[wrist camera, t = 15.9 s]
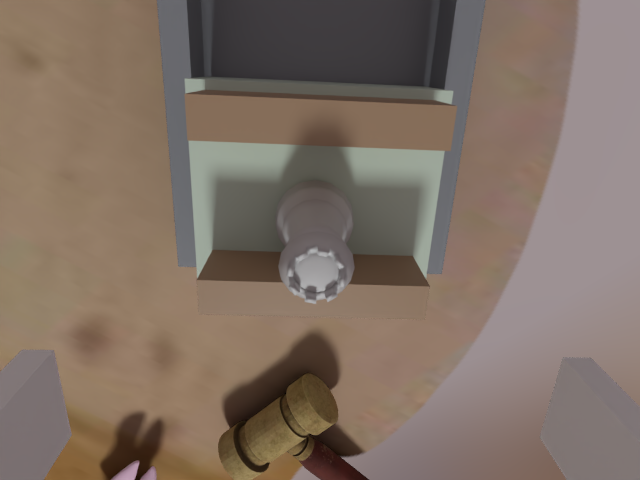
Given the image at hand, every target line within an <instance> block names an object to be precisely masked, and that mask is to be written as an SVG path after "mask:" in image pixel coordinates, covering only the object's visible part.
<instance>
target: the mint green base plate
mask: <svg viewBox="0 0 640 480" xmlns="http://www.w3.org/2000/svg"><path fill="white" fill-rule="evenodd" d="M185 93H186V94H185V110H186V125H187V141H189V156H190V172H191V187H192V203H193V219H194V234H195V250H196V266H197V295H198V311H199V314H206V315H246V316H286V317H326V318H367V319H407V320H425V317H426V310H427V303H428V297H429V290H430V286H429V284H428V282H427V280H426V275H427V268H428V261H429V255H430V248H431V241H432V234H433V227H434V220H435V214H436V207H437V200H438V193H439V186H440V180H441V173H442V166H443V159H444V152H445V151H451V145H452V138H453V132H454V125H455V119H456V112H457V106H456V105H452V98H453V91H451V90H444V89H438V88H431V87H424V86H402V85H381V84H359V83H337V82H316V81H294V80H273V79H251V78H229V77H197V78H185ZM313 180H318V181H322V182H327V183H331V184H332V185H334V186H335V187H337V188H338V189H340V190H341V191H342V192H344V194H345V195H346V197H347V199H348V200H349V202H350V203H351V205H352V212H353V219H354V220H353V222H354V226H353V229H352V233H351V237H350V239H349V241H348V242H347V243H346V245H347V246H348V248H349V250H350V251H351V253H352V254H353V260H354V267H355V268H354V272H353V275H352V279H351V281H350V282H349V284H348V285H347V286H346V287H345V289H344V290H343V291H342V292H340V293H338V294H337V295H338V297H336V298H334V299H333V300H331V301H329V302H327V299H323V300H317V301H316V304H313V303H308V302H305V299H304V298H301V297H299V296H297V295H294V294H293V293H292V292H291V291H289V290H288V288H287V287H286V285H285V284H284V283H283V281H282V280H281V277H280V272H279V268H278V265H279V260H280V256H281V252H282V251H283V250H284V248H285V246H284V244H283V243H282V242H281V240H280V239H279V237H278V233H277V229H276V224H275V221H276V220H275V215H276V211H277V206H278V203H279V201H280V200H281V198H282V197H283V195H284V194H285V193H286V191H287V190H289V189H291V188H292V187H294V186H295V185H297V184H299V183H301V182H307V181H313Z"/></svg>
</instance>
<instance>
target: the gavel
mask: <svg viewBox="0 0 640 480" xmlns="http://www.w3.org/2000/svg"><path fill="white" fill-rule="evenodd" d="M337 420H338V408H337V404H336V401H335V399H334V397H333V395H332V393H331V391H330V390H329V388H328V387H327V386H326V384H325V383H324V382H323V381H322V380H321V379H320V378H318V377H317V376H315V375H313V374H310V373H306V374H304V375H303V376H302V377H300V378H299V379H298V380H296V381H295V382H293V383H292V384H291V385H289V387H288V388H287V392H286V394H284V395H282V396H281V397H279V398H278V399H276V400H275V401H274V402H272V403H271V404H270V405H268V406H267V407H265V408H264V409H263V410H261V411H260V412H259V413H257V414H256V415H254V416H253V417H252V418H250V419H249V420H248V421H247V422H246V421H241V422H239V423H237V424H236V425H234V426H233V427H232V428H230V429H229V430H228V431H226V432H225V433H224V434H223V435H222V436H221V437H220V439H219V443H218V452H219V457H220V460H221V463H222V465H223V467H224V469H225V470H226V472H227V473H228V474H229V475H230V476H231V477H232V478H233V479H234V480H253V479H254V478H256V477H257V476H258V475H260V474H261V473H263V472H264V471H266V470H267V468H268V466H269V464H270V462H272V461H273V460H275V459H276V458H278V457H279V456H281V455H282V454H284V453H285V452H288V453H289V454H291V455H293V456H294V457H295V458H297V459H298V460H299V461H300V462H301V464H302V465H303V466H304V467H305V468H306V469H307V470H308V471H310V472H311V473H312V474H314V475H315V476H316V477H318V478H319V479H321V480H369V479H367V478H366V477H365V476H363V475H362V474H361V473H360V472H358V471H357V470H356V469H355V468H353V467H352V466H351V465H350V464H348V463H347V462H346V461H345V460H343V459H342V458H341V457H340V456H338V455H337V454H336V453H335V452H333V451H332V450H331V449H329V448H328V447H327V446H326V445H324V444H323V443H322V442H320V441H317V440H315V439H313V438H312V437H310V436H309V435H310V434H312V435H319V434H320V433H322V432H323V431H324V430H326V429H327V428H329V427H330V426H332V425H333V424H335V423H336V422H337Z"/></svg>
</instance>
